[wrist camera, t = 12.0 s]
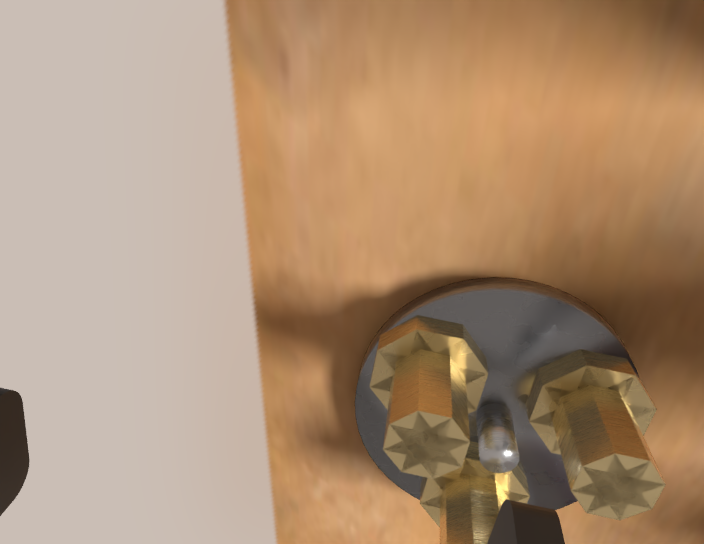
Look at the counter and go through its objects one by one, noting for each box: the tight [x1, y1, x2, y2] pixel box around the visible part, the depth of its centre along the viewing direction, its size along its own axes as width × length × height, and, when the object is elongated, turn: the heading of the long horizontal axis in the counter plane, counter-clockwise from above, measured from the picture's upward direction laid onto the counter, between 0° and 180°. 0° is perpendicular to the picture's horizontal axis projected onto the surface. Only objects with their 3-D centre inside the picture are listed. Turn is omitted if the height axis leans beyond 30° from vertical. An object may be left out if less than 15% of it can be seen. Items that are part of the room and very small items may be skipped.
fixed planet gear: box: [525, 349, 666, 520], centre depth 35 cm, size 7×7×8 cm
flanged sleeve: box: [420, 441, 530, 544], centre depth 39 cm, size 7×7×8 cm
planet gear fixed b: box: [370, 315, 488, 479], centre depth 36 cm, size 7×7×8 cm
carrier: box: [355, 278, 639, 510], centre depth 39 cm, size 19×19×6 cm
